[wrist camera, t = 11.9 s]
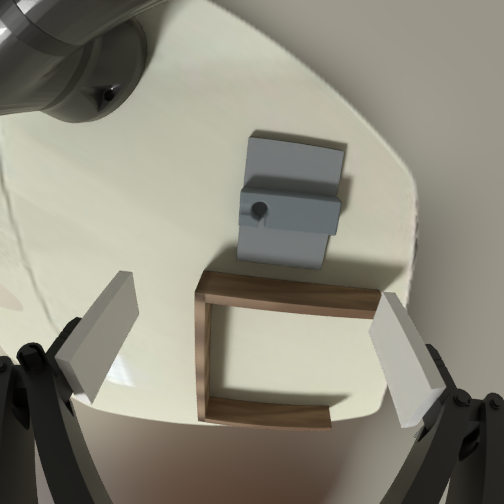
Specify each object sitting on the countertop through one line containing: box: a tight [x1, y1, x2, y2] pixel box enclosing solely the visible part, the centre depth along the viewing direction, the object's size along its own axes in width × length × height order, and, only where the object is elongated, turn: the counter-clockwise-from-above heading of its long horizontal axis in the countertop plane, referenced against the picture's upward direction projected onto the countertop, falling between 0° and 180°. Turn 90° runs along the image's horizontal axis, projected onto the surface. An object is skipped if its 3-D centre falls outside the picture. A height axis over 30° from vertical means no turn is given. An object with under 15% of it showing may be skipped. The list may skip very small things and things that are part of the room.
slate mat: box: [236, 137, 344, 270], centre depth 32 cm, size 14×10×1 cm
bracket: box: [239, 187, 342, 236], centre depth 30 cm, size 4×10×2 cm, turn 86°
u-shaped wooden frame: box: [195, 271, 382, 431], centre depth 40 cm, size 27×23×5 cm
